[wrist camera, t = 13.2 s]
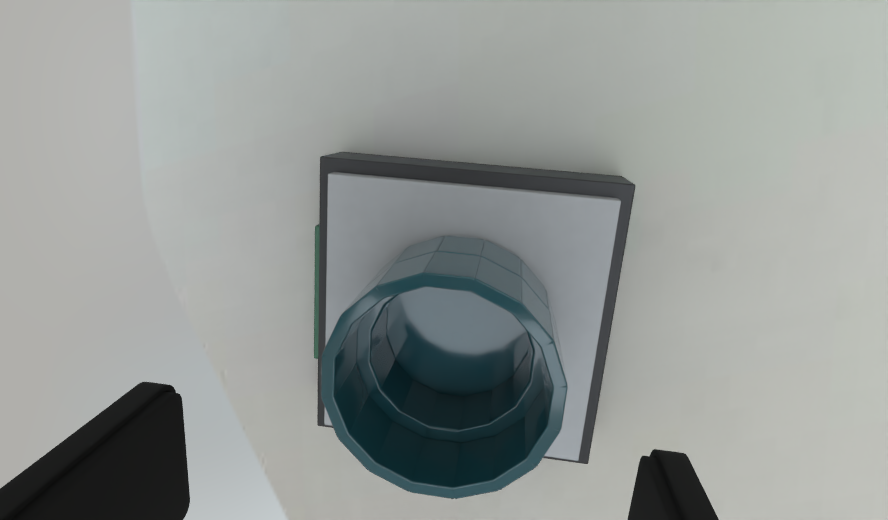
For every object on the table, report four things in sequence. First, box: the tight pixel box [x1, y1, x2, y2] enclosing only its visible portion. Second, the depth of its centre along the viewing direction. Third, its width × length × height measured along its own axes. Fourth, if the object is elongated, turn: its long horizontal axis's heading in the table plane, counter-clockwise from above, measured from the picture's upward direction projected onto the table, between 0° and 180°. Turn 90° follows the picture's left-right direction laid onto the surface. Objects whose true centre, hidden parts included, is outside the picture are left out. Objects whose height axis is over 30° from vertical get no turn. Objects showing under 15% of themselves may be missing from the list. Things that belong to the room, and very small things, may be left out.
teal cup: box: [321, 236, 568, 499], centre depth 17 cm, size 7×7×5 cm
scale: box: [314, 152, 635, 464], centre depth 21 cm, size 11×11×3 cm
